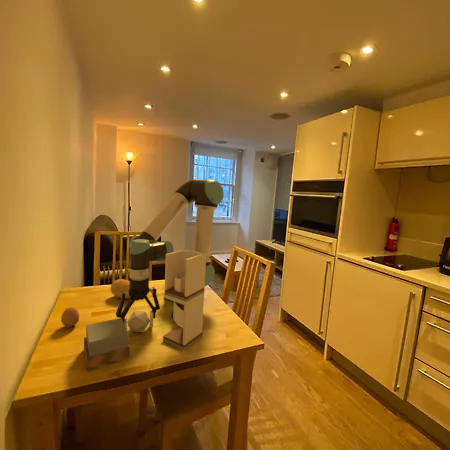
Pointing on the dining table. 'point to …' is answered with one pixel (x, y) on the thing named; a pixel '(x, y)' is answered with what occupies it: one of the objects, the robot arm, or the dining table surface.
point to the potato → (120, 287)
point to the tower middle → (106, 336)
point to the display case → (185, 295)
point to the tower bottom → (105, 357)
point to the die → (138, 321)
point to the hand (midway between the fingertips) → (138, 328)
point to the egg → (70, 317)
